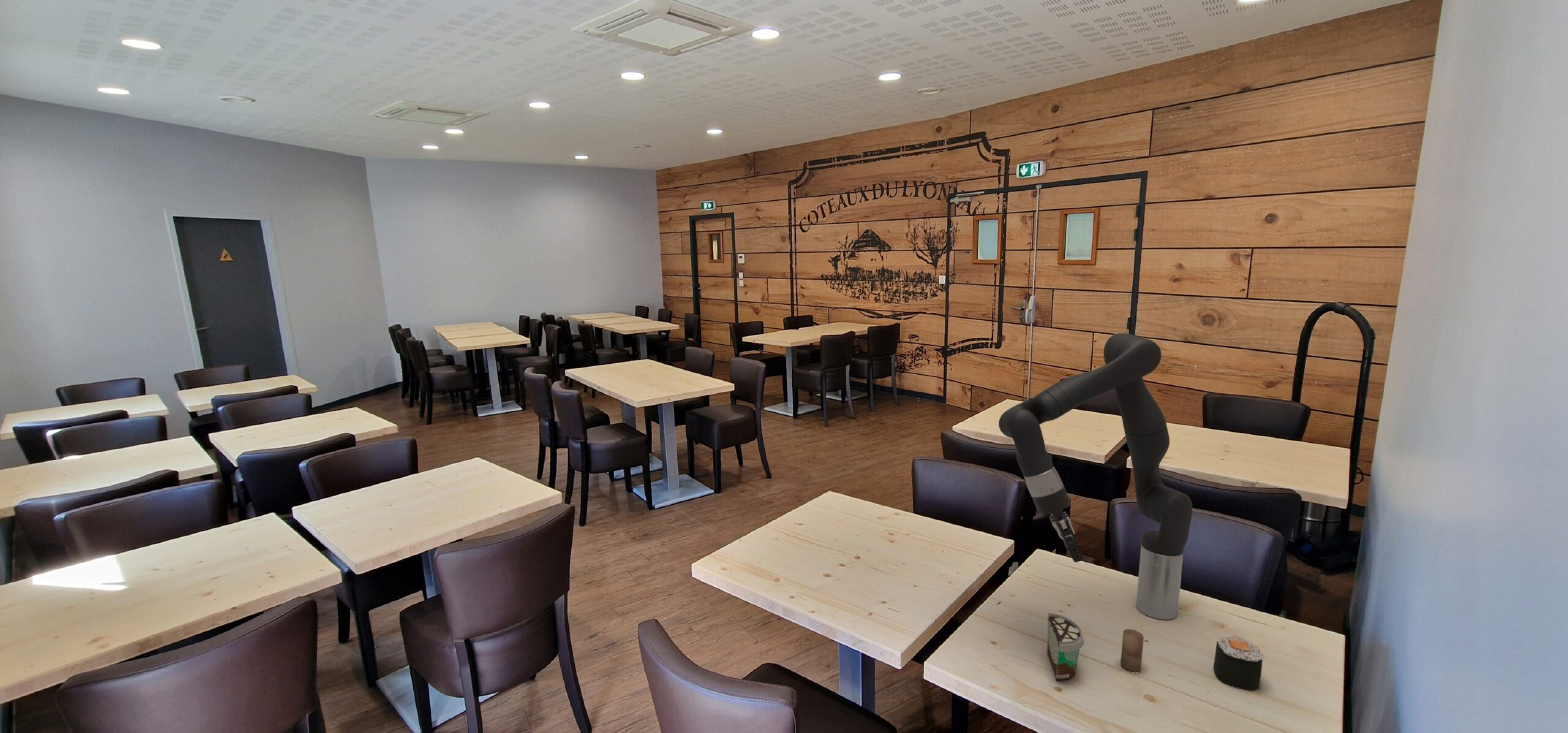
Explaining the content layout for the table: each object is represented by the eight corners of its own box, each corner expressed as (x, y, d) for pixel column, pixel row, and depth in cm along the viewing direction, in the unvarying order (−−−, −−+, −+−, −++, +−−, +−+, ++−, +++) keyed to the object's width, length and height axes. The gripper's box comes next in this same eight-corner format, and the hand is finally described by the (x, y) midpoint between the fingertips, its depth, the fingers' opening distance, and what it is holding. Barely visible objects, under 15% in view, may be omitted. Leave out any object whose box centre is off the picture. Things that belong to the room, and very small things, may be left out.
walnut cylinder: (1127, 659, 143) (1129, 627, 141) (1144, 669, 139) (1147, 636, 138) (1116, 665, 141) (1119, 632, 139) (1134, 675, 137) (1137, 641, 136)
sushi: (1217, 684, 134) (1221, 650, 133) (1210, 662, 141) (1214, 630, 140) (1264, 695, 131) (1268, 660, 129) (1254, 671, 138) (1258, 638, 137)
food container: (1088, 689, 133) (1091, 646, 131) (1057, 685, 134) (1060, 643, 133) (1073, 654, 145) (1076, 614, 143) (1045, 651, 146) (1048, 611, 144)
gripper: (1068, 491, 138) (1098, 560, 137) (1057, 477, 151) (1085, 540, 150) (1034, 502, 140) (1064, 570, 139) (1027, 487, 153) (1054, 550, 152)
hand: (1075, 554), depth 144 cm, fingers open, 8 cm apart
